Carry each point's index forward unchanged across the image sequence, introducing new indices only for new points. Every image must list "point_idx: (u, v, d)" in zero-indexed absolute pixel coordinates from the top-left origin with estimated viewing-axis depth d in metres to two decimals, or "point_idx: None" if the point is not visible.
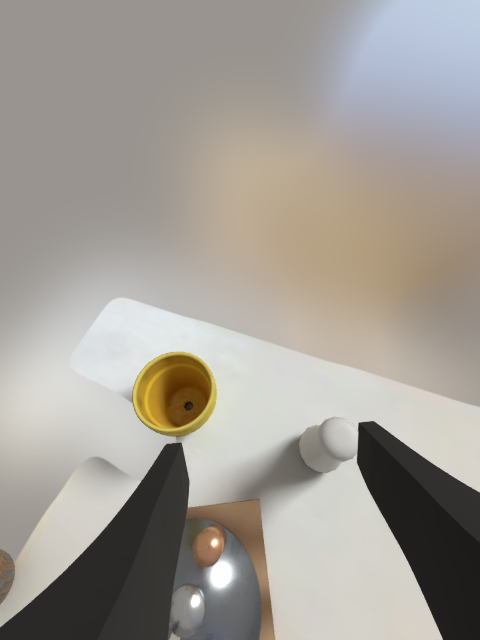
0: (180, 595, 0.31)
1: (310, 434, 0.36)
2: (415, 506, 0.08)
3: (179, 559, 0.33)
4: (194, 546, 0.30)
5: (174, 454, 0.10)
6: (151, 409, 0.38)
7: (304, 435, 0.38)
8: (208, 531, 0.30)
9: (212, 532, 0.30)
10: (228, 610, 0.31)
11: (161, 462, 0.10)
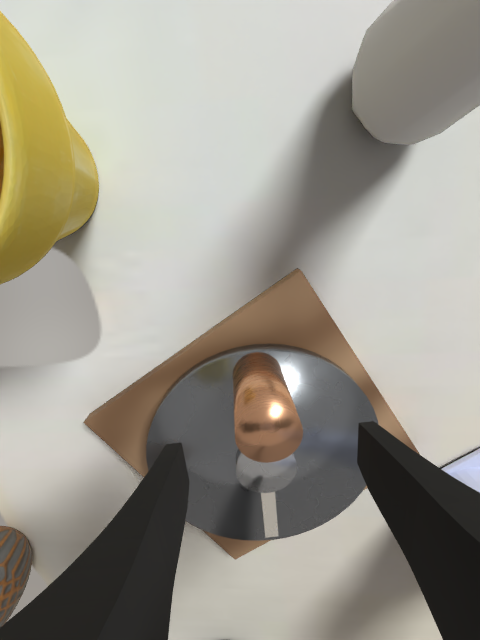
0: (248, 461, 0.19)
1: (420, 13, 0.10)
2: (415, 506, 0.08)
3: (217, 424, 0.19)
4: (241, 446, 0.13)
5: (174, 454, 0.10)
6: None
7: (374, 52, 0.12)
8: (254, 411, 0.12)
9: (264, 408, 0.12)
10: (324, 431, 0.19)
11: (161, 462, 0.10)
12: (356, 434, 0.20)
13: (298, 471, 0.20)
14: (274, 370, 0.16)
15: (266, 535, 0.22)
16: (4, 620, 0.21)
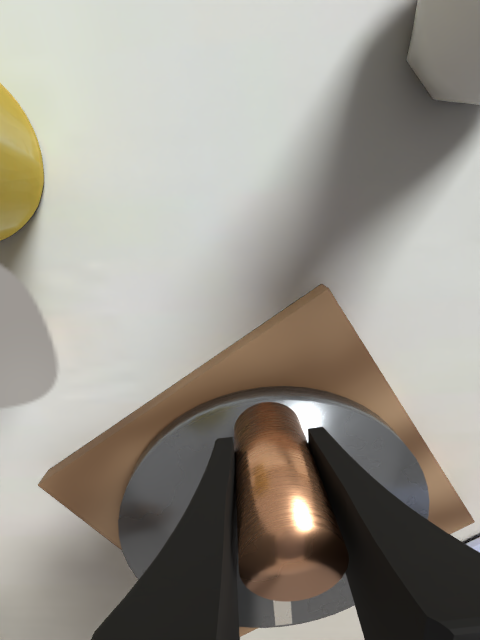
0: None
1: None
2: (345, 514, 0.08)
3: None
4: (249, 581, 0.08)
5: (229, 448, 0.10)
6: None
7: None
8: (272, 533, 0.07)
9: (287, 529, 0.07)
10: None
11: (219, 456, 0.10)
12: None
13: None
14: (294, 436, 0.11)
15: (276, 623, 0.17)
16: None
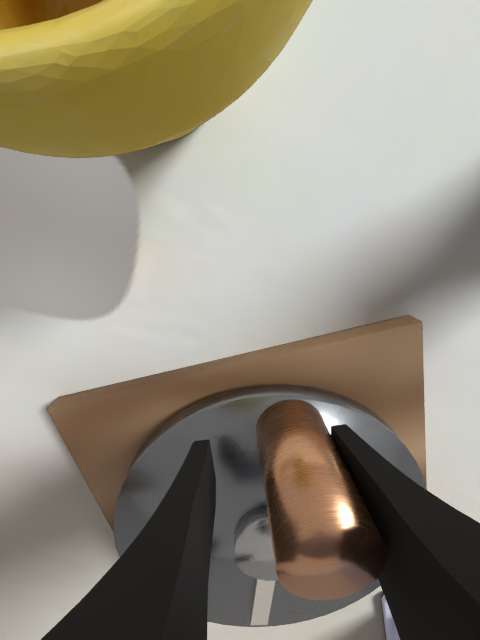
0: (255, 541, 0.14)
1: None
2: (377, 510, 0.08)
3: (221, 484, 0.14)
4: (284, 575, 0.08)
5: (204, 451, 0.10)
6: None
7: None
8: (321, 529, 0.07)
9: (337, 526, 0.07)
10: None
11: (193, 458, 0.10)
12: None
13: None
14: (327, 437, 0.11)
15: (252, 622, 0.17)
16: None
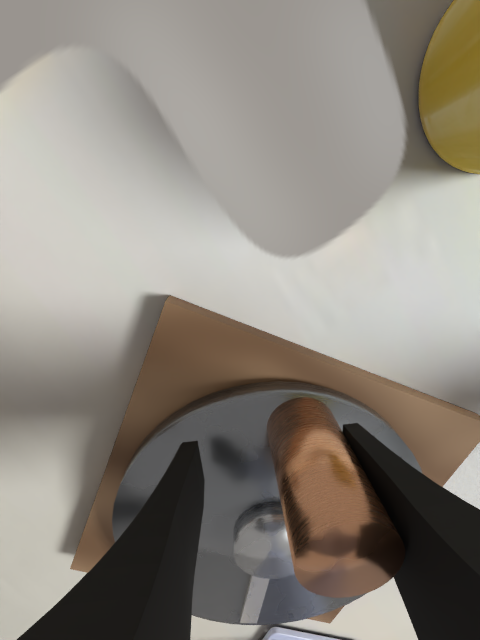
0: (256, 537, 0.14)
1: None
2: (393, 509, 0.08)
3: (226, 478, 0.14)
4: (301, 569, 0.08)
5: (191, 452, 0.10)
6: None
7: None
8: (344, 525, 0.07)
9: (360, 523, 0.07)
10: None
11: (179, 460, 0.10)
12: None
13: None
14: (342, 436, 0.11)
15: (242, 620, 0.17)
16: None
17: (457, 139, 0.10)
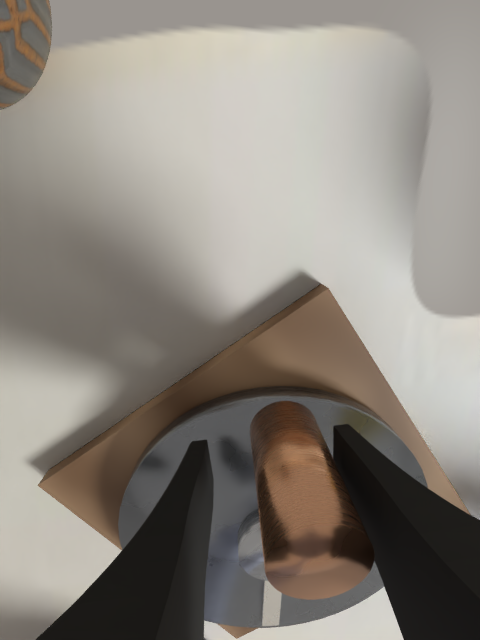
0: (257, 542, 0.14)
1: None
2: (380, 510, 0.08)
3: (220, 488, 0.14)
4: (273, 576, 0.08)
5: (202, 451, 0.10)
6: None
7: None
8: (304, 529, 0.07)
9: (321, 526, 0.07)
10: None
11: (190, 459, 0.10)
12: None
13: None
14: (317, 437, 0.11)
15: (264, 623, 0.17)
16: None
17: None
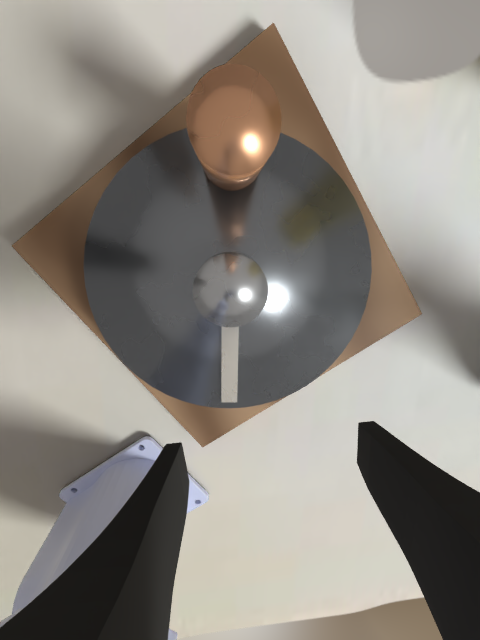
0: (209, 275, 0.15)
1: None
2: (415, 506, 0.08)
3: (177, 227, 0.15)
4: (194, 135, 0.09)
5: (174, 454, 0.10)
6: None
7: None
8: (217, 71, 0.09)
9: (231, 68, 0.09)
10: (306, 259, 0.16)
11: (161, 462, 0.10)
12: (343, 269, 0.16)
13: (269, 313, 0.17)
14: None
15: (223, 399, 0.18)
16: None
17: None
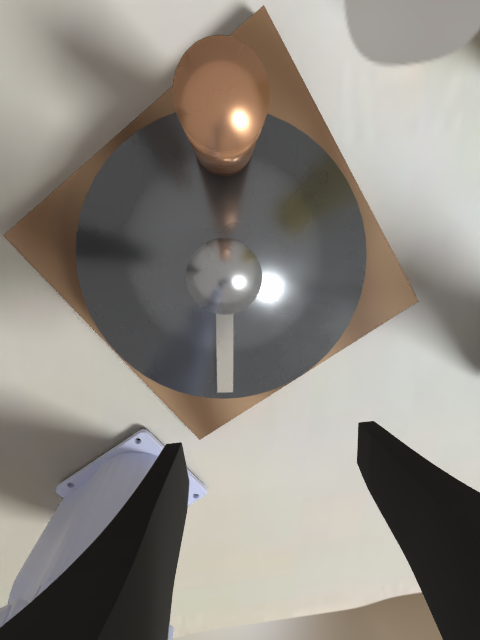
0: (203, 261, 0.15)
1: None
2: (415, 506, 0.08)
3: (169, 213, 0.15)
4: (181, 109, 0.09)
5: (174, 454, 0.10)
6: None
7: None
8: (203, 43, 0.09)
9: (217, 39, 0.09)
10: (300, 244, 0.16)
11: (161, 462, 0.10)
12: (338, 255, 0.16)
13: (264, 301, 0.17)
14: None
15: (218, 389, 0.18)
16: None
17: None
